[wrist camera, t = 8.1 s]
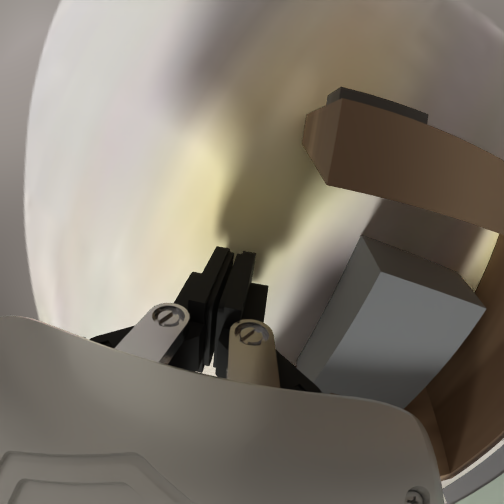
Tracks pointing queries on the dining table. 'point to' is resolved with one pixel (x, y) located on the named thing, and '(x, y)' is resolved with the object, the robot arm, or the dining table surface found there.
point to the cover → (480, 483)
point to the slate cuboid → (389, 326)
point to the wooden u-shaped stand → (440, 201)
